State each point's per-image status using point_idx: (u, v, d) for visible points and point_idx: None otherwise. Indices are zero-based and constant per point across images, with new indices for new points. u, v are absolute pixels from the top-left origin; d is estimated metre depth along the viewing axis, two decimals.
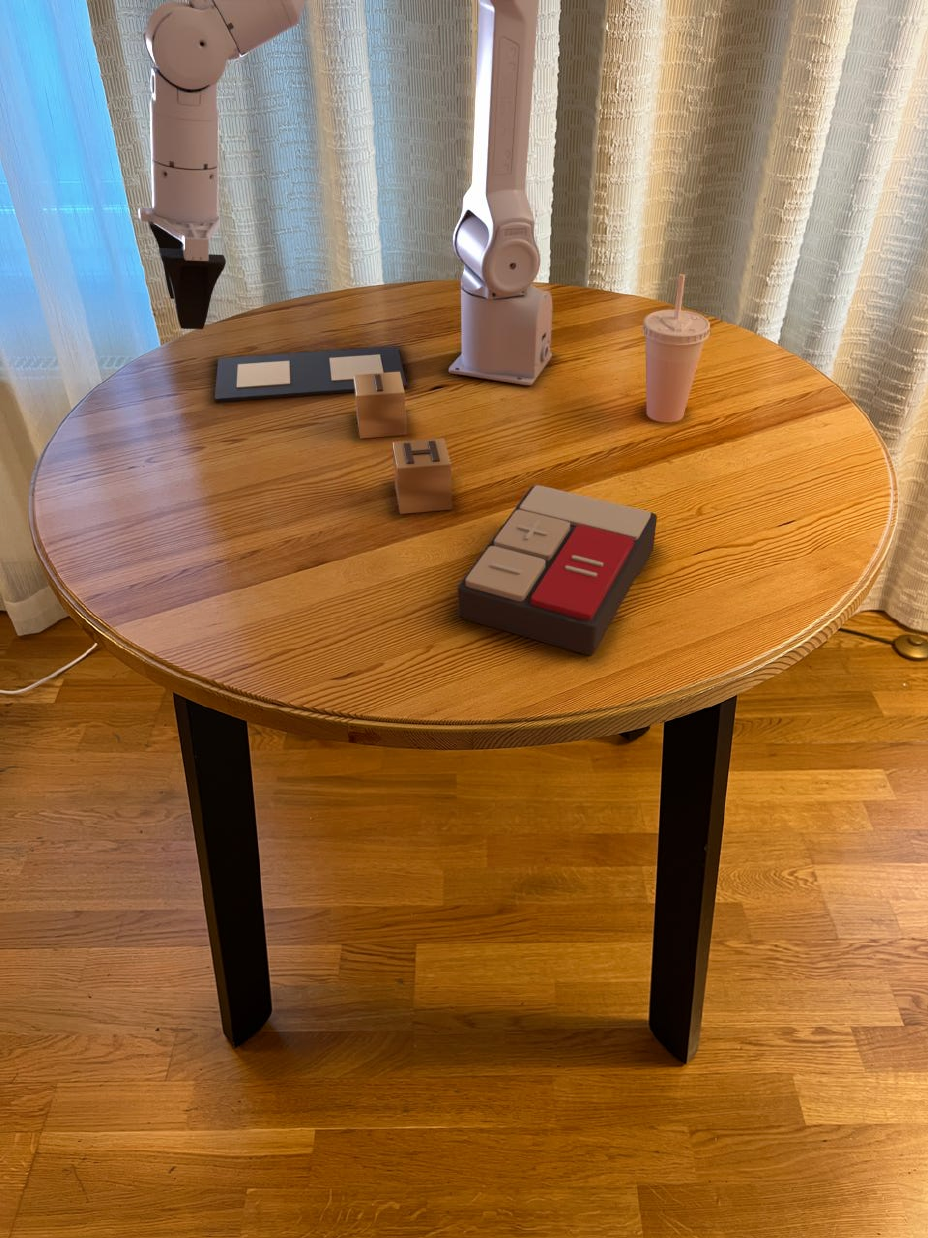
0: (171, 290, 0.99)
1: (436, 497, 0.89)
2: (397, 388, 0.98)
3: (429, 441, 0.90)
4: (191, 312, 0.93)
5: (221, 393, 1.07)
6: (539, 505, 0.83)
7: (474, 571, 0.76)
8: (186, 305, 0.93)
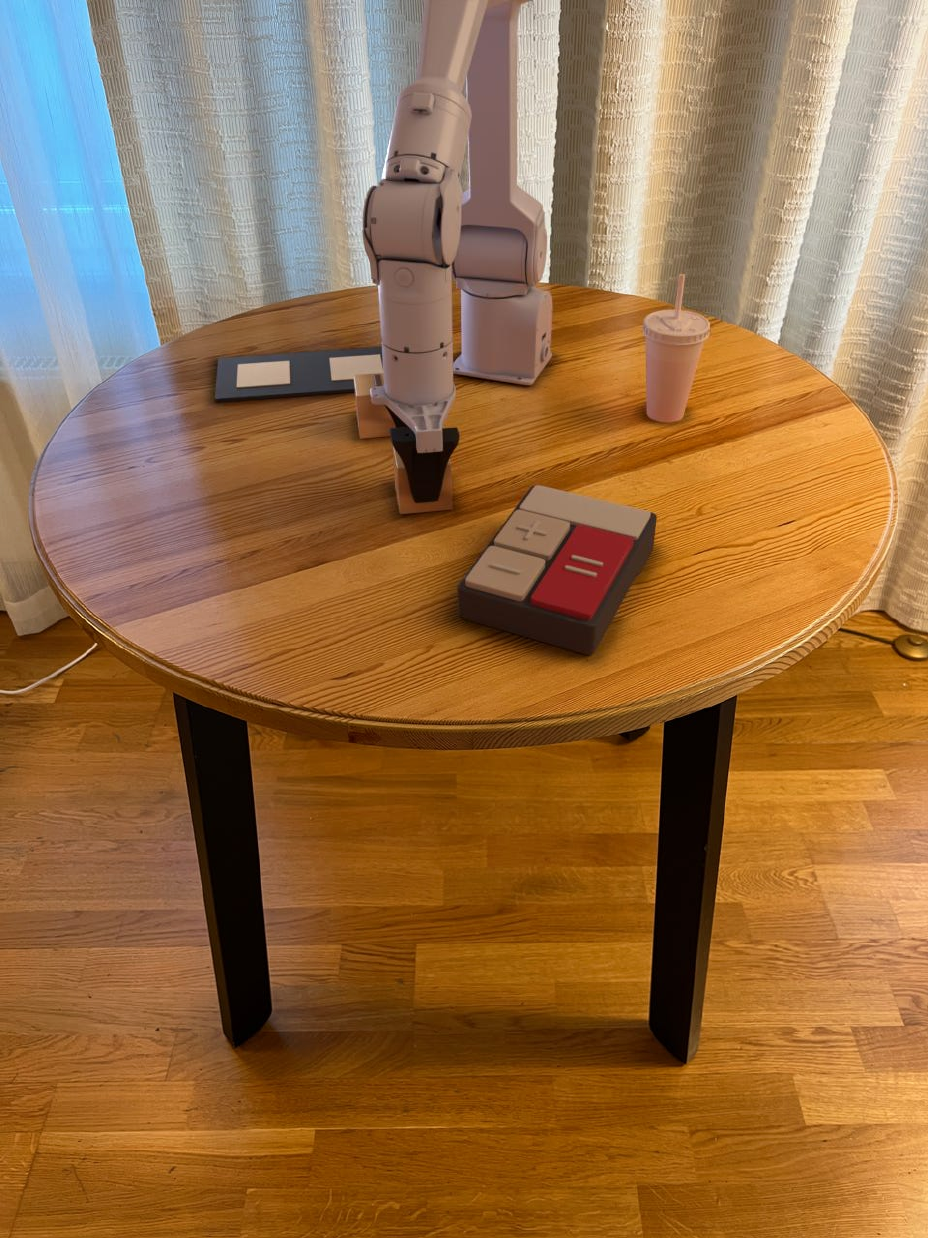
0: None
1: None
2: None
3: None
4: (425, 487, 0.87)
5: (221, 393, 1.07)
6: (538, 505, 0.83)
7: (474, 571, 0.76)
8: (419, 481, 0.86)
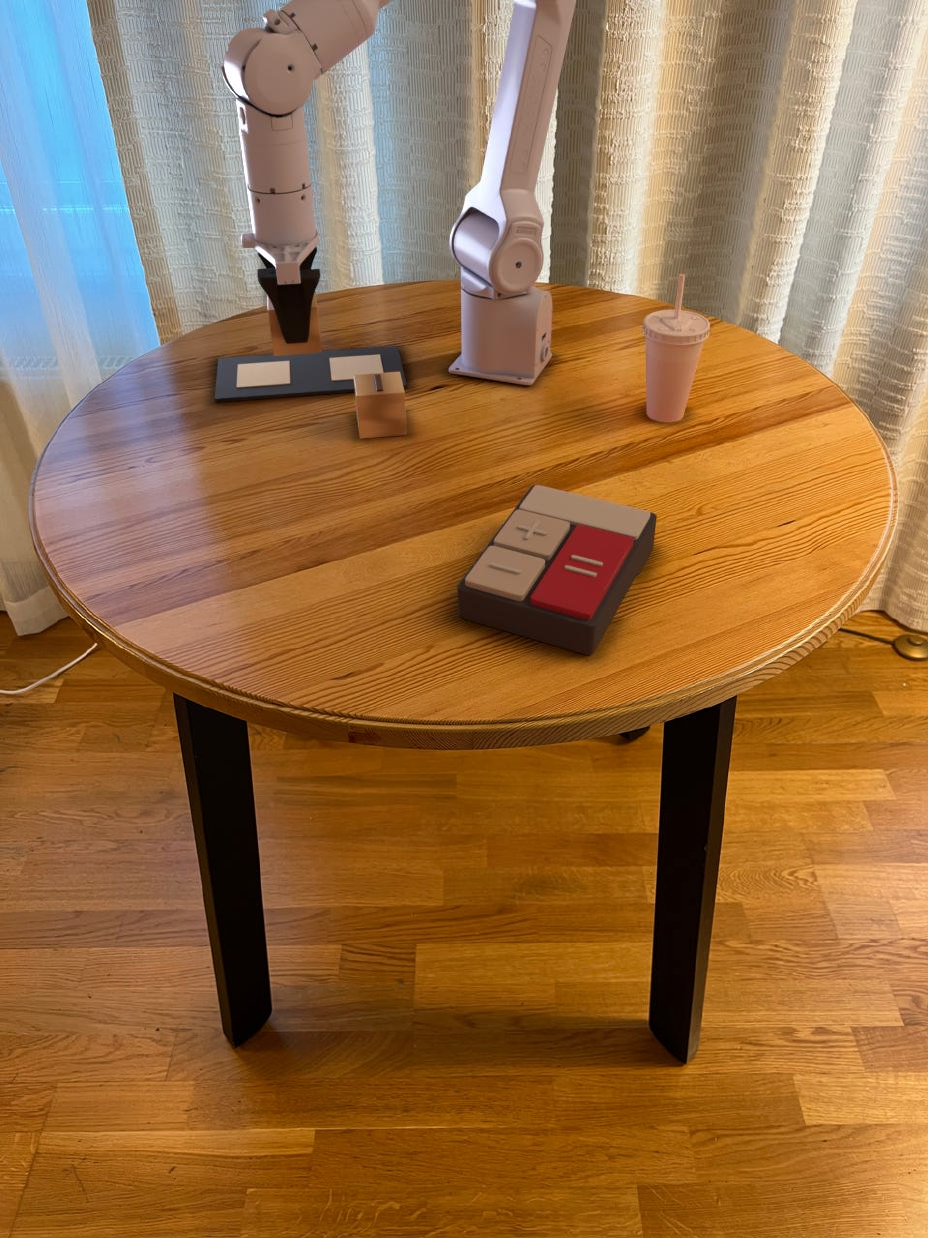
0: None
1: None
2: (397, 388, 0.98)
3: None
4: (294, 327, 0.96)
5: (221, 393, 1.07)
6: (538, 505, 0.83)
7: (474, 571, 0.76)
8: (288, 321, 0.95)
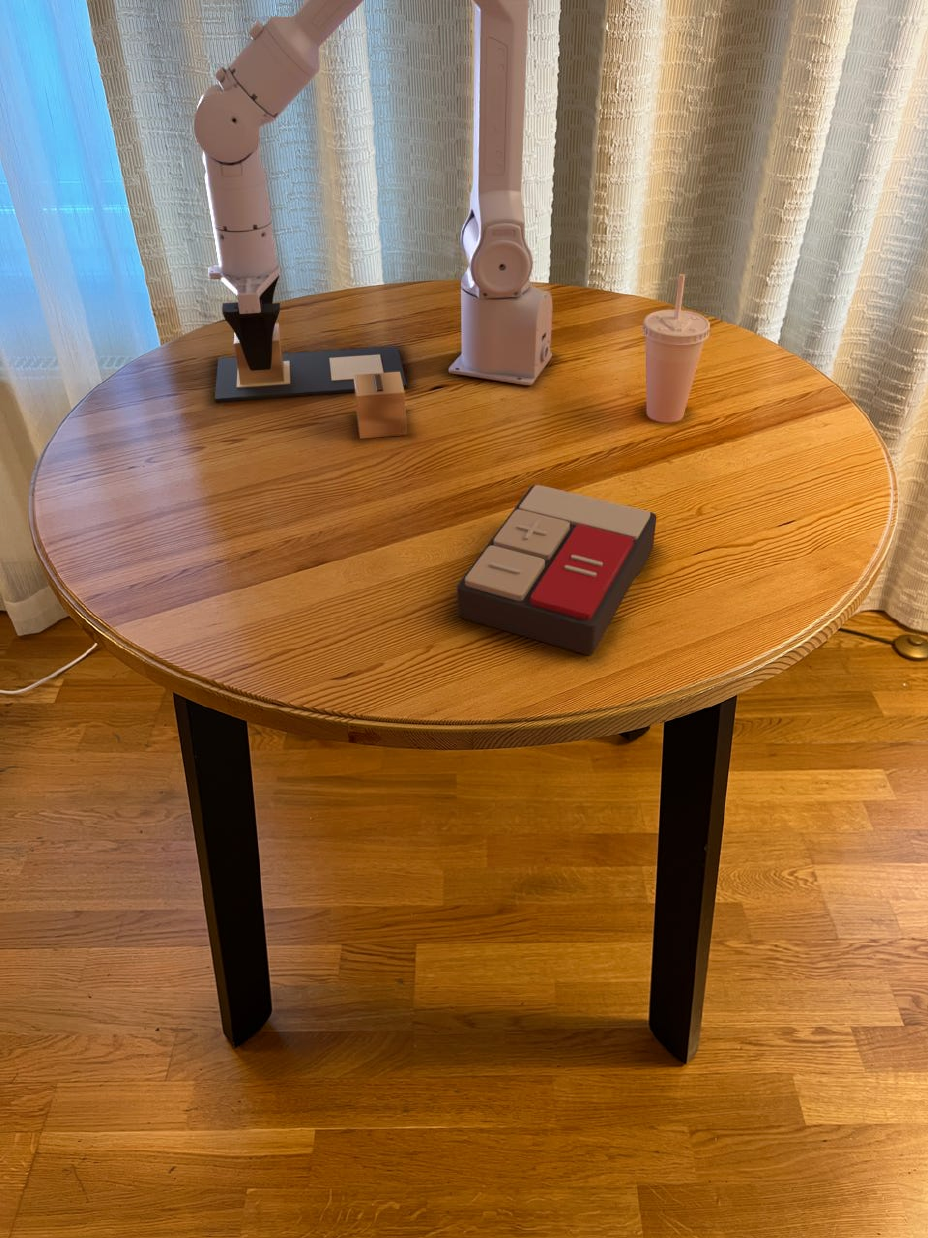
0: None
1: (269, 370, 1.07)
2: (397, 388, 0.98)
3: None
4: (257, 356, 1.04)
5: (221, 393, 1.07)
6: (538, 505, 0.83)
7: (473, 570, 0.76)
8: (252, 350, 1.04)
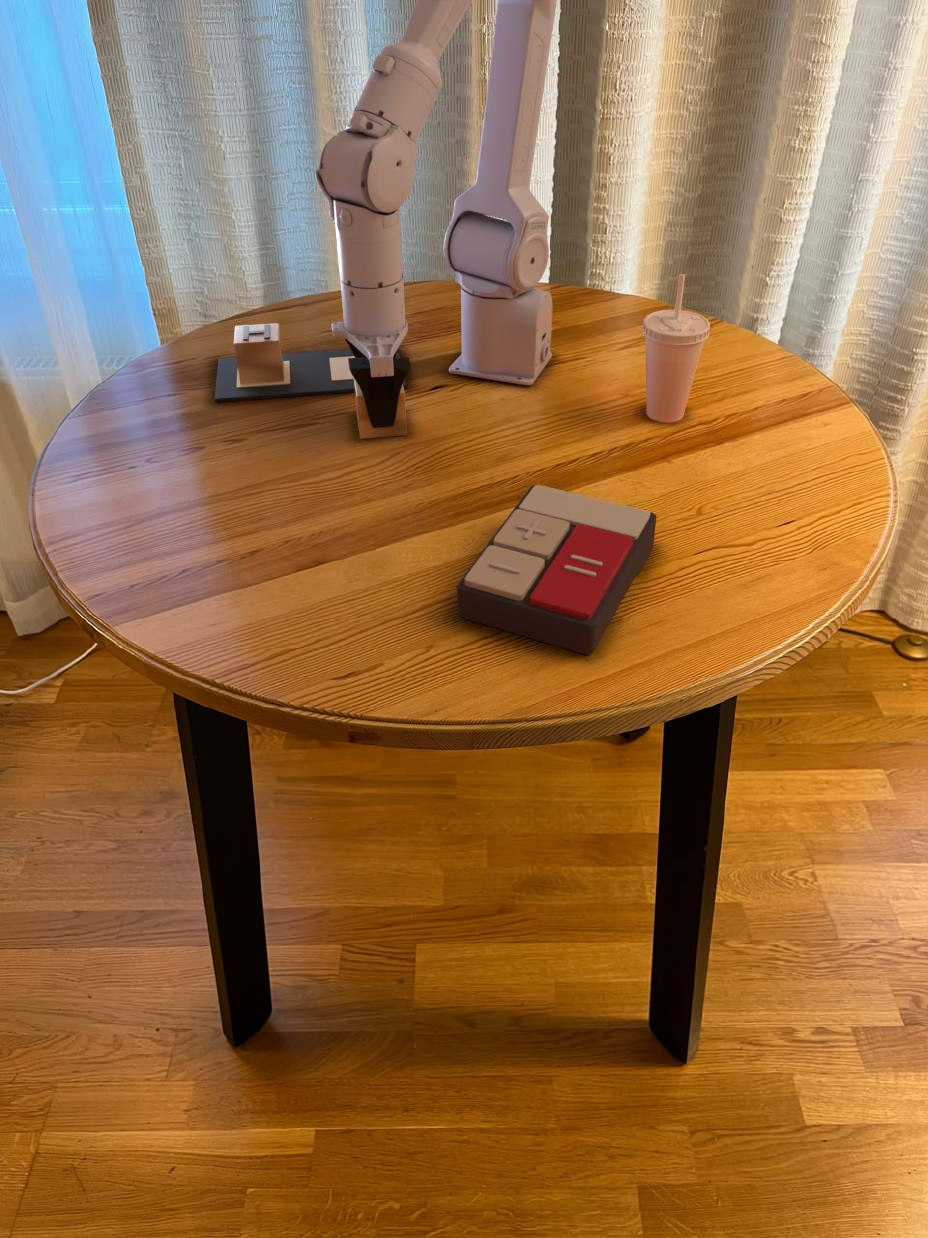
0: None
1: (269, 370, 1.07)
2: None
3: (265, 325, 1.08)
4: (381, 412, 0.97)
5: (221, 393, 1.07)
6: (538, 505, 0.83)
7: (473, 570, 0.76)
8: (376, 407, 0.97)
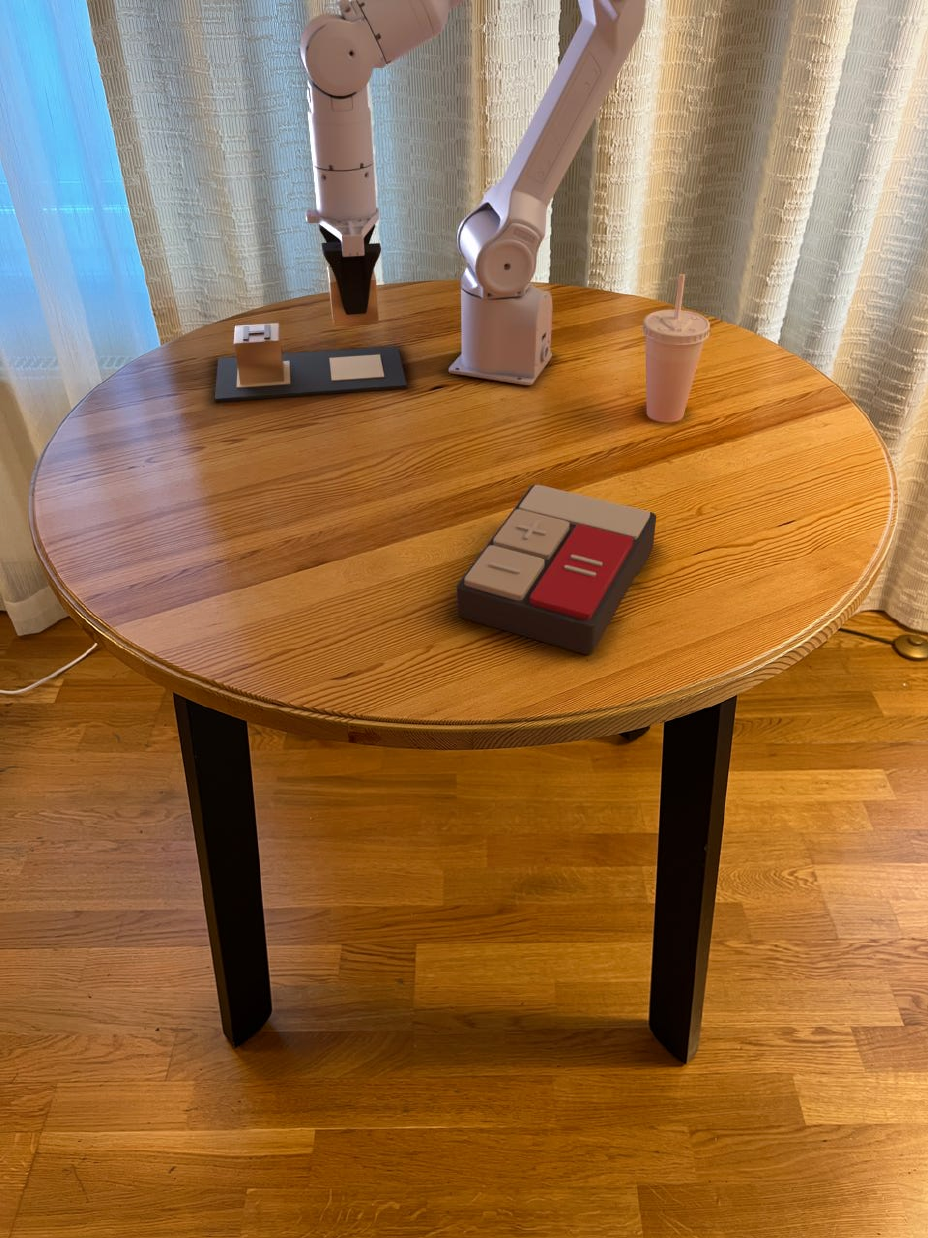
0: None
1: (269, 370, 1.07)
2: None
3: (265, 325, 1.08)
4: (354, 299, 1.01)
5: (221, 393, 1.07)
6: (538, 505, 0.83)
7: (473, 570, 0.76)
8: (349, 293, 1.01)
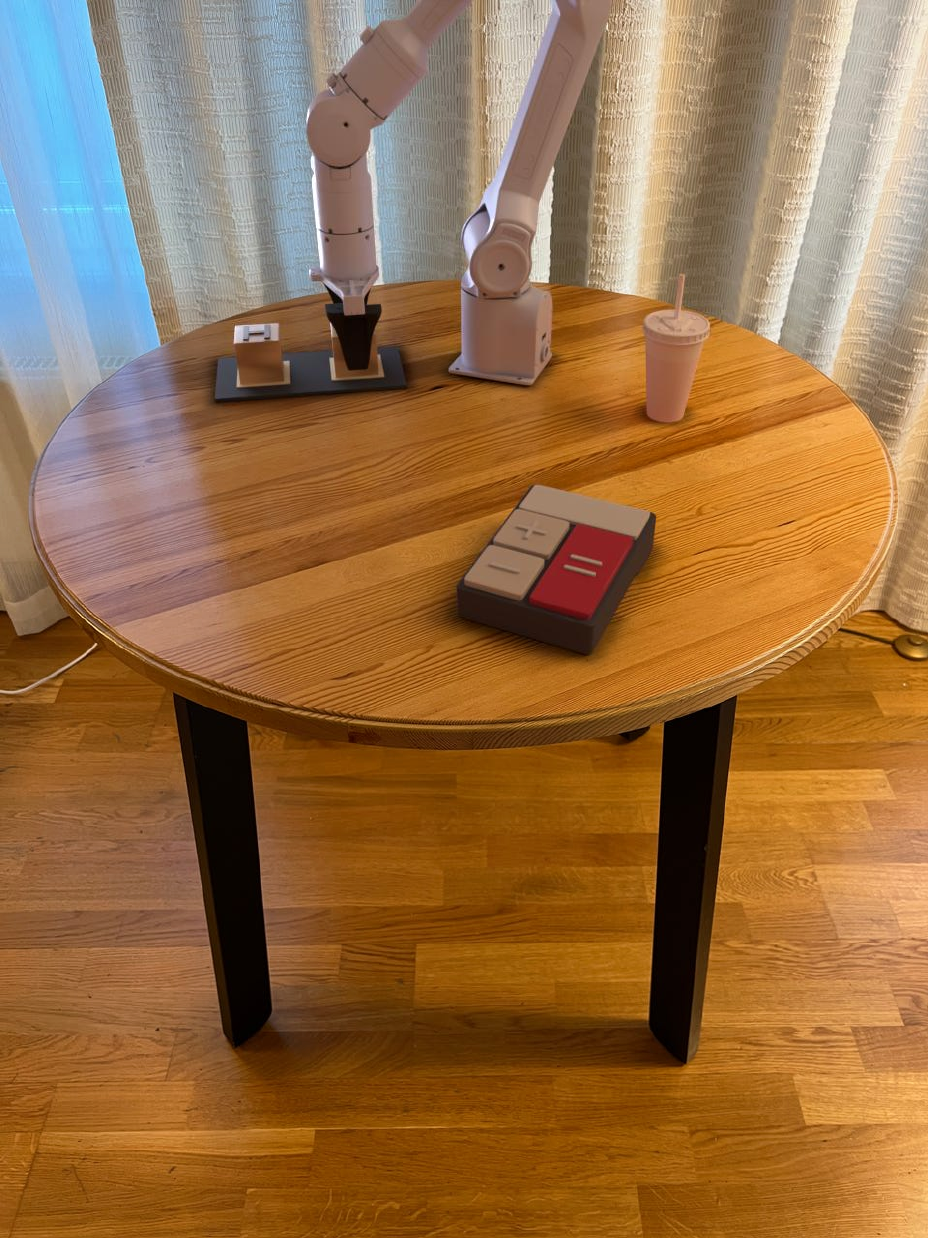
0: None
1: (269, 370, 1.07)
2: None
3: (265, 325, 1.08)
4: (356, 356, 1.06)
5: (221, 393, 1.07)
6: (538, 505, 0.83)
7: (473, 570, 0.76)
8: (351, 350, 1.05)
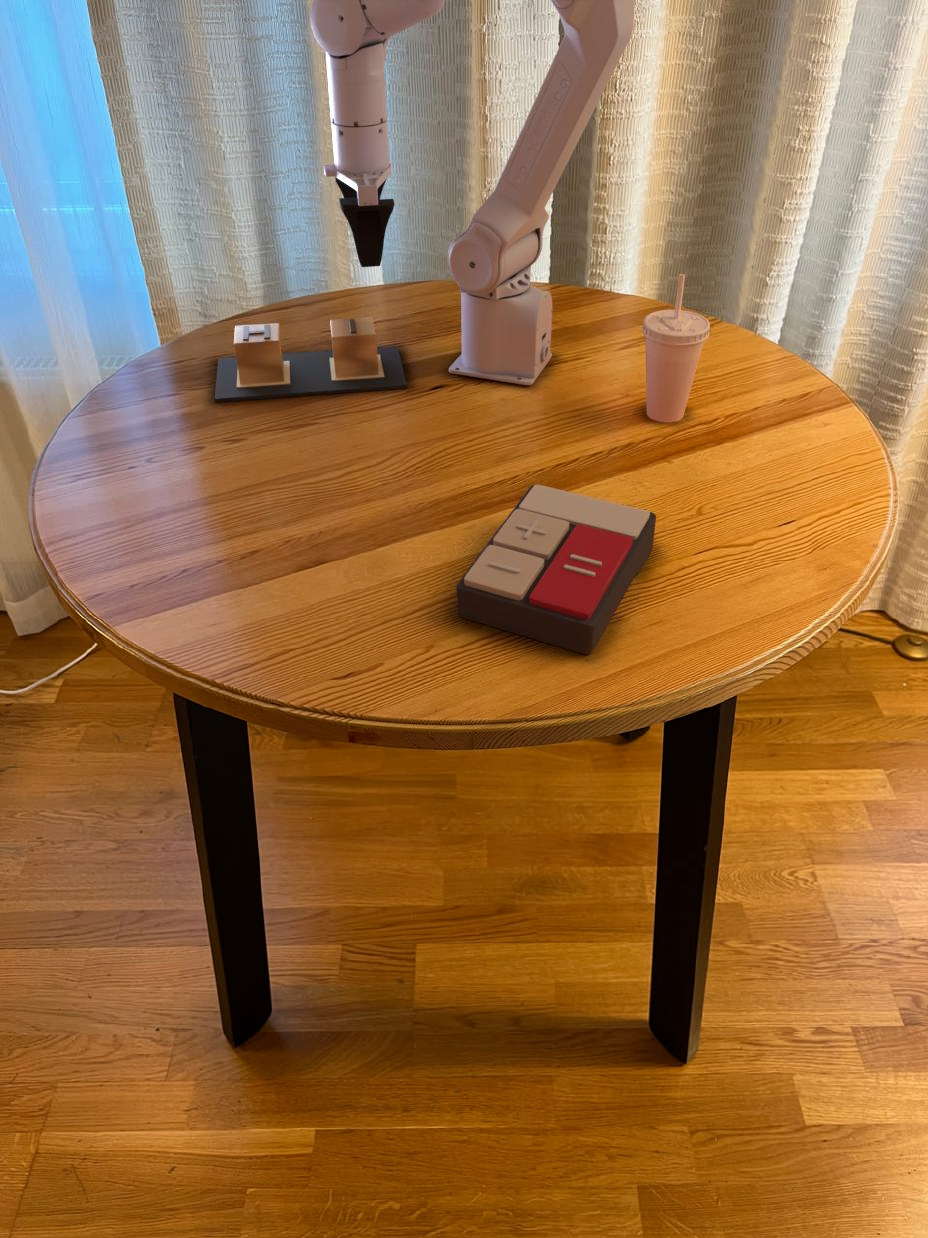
0: None
1: (269, 370, 1.07)
2: (369, 331, 1.07)
3: (265, 325, 1.08)
4: (369, 252, 1.09)
5: (221, 393, 1.07)
6: (538, 505, 0.83)
7: (473, 570, 0.77)
8: (364, 246, 1.08)
